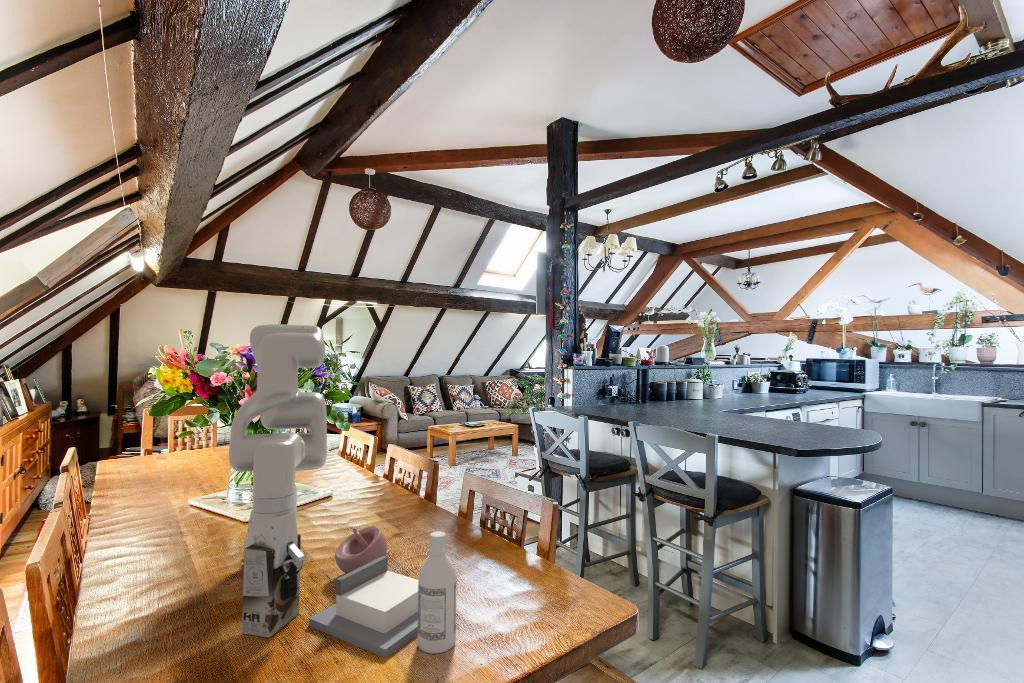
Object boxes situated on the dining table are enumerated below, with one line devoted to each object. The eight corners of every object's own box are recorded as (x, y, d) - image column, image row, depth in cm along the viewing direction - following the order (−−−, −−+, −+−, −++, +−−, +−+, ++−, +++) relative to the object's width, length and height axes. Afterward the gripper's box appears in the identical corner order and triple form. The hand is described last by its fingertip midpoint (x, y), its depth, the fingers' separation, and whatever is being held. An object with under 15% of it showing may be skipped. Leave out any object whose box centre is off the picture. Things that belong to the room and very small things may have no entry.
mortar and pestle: (327, 572, 120) (328, 524, 120) (375, 559, 127) (375, 514, 128) (344, 591, 111) (345, 539, 111) (395, 577, 118) (395, 528, 118)
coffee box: (270, 638, 92) (272, 551, 93) (240, 634, 94) (242, 548, 94) (301, 613, 101) (302, 533, 102) (273, 609, 103) (274, 531, 103)
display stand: (308, 626, 97) (309, 581, 97) (382, 584, 114) (383, 547, 114) (385, 658, 87) (386, 609, 87) (453, 607, 104) (454, 566, 104)
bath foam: (438, 628, 96) (439, 524, 97) (463, 642, 92) (464, 533, 92) (409, 644, 91) (411, 534, 91) (434, 660, 86) (436, 544, 87)
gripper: (229, 501, 99) (227, 589, 98) (285, 515, 90) (283, 611, 90) (264, 492, 105) (262, 574, 105) (319, 504, 97) (318, 594, 96)
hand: (272, 591), depth 97 cm, fingers open, 9 cm apart
